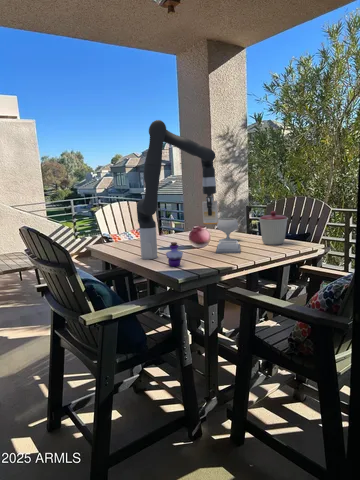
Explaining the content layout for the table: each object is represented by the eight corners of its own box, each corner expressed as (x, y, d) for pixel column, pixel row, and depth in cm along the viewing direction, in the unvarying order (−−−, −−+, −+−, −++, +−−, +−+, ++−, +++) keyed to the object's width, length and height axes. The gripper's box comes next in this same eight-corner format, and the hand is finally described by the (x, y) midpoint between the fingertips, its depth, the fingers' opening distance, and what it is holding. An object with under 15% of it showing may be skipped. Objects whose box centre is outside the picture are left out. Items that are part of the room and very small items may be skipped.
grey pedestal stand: (240, 253, 200) (240, 245, 199) (215, 253, 202) (215, 246, 201) (240, 245, 221) (240, 239, 220) (217, 246, 223) (217, 239, 223)
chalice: (241, 242, 234) (240, 219, 231) (220, 243, 232) (220, 220, 230) (234, 238, 248) (234, 217, 245) (215, 239, 246) (215, 218, 243)
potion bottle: (174, 263, 183) (173, 240, 181) (186, 265, 177) (185, 241, 175) (162, 266, 177) (161, 243, 175) (175, 268, 171) (174, 244, 169)
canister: (255, 245, 219) (255, 212, 216) (262, 240, 235) (262, 209, 232) (285, 247, 212) (286, 212, 208) (289, 241, 228) (290, 209, 224)
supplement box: (218, 223, 205) (217, 200, 202) (217, 224, 200) (216, 201, 198) (204, 223, 207) (203, 201, 205) (202, 224, 203) (201, 201, 200)
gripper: (215, 185, 192) (216, 216, 195) (216, 184, 206) (217, 213, 209) (201, 186, 193) (202, 216, 196) (203, 185, 207) (205, 213, 210)
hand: (210, 214), depth 203 cm, fingers closed on supplement box, 5 cm apart
